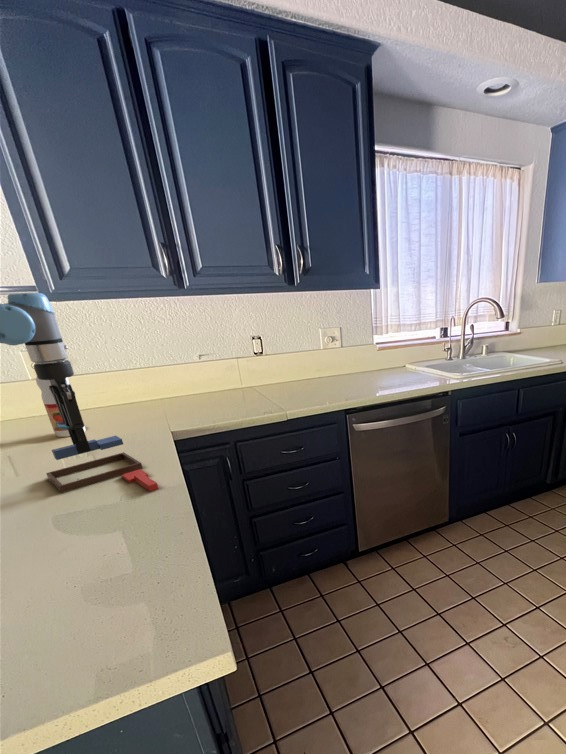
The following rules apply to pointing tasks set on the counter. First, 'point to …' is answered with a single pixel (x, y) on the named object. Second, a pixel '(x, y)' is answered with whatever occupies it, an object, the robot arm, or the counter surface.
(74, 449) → the blue stepped block
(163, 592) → the counter surface
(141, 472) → the red t-shaped block
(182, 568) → the counter surface
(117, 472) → the tray
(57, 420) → the fruit juice
